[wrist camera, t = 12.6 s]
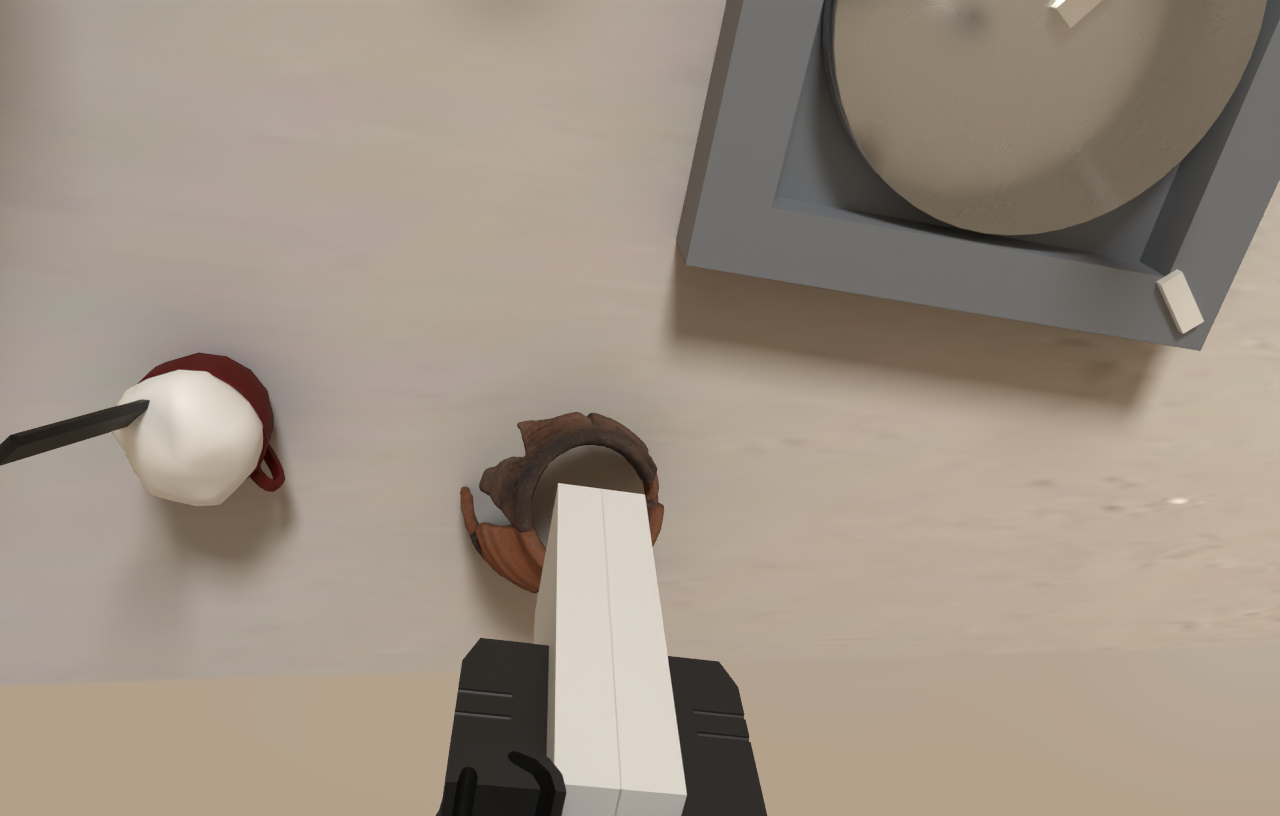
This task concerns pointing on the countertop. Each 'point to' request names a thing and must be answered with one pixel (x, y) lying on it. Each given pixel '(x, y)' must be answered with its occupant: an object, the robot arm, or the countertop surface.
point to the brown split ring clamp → (517, 478)
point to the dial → (1031, 99)
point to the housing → (943, 253)
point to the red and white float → (179, 430)
